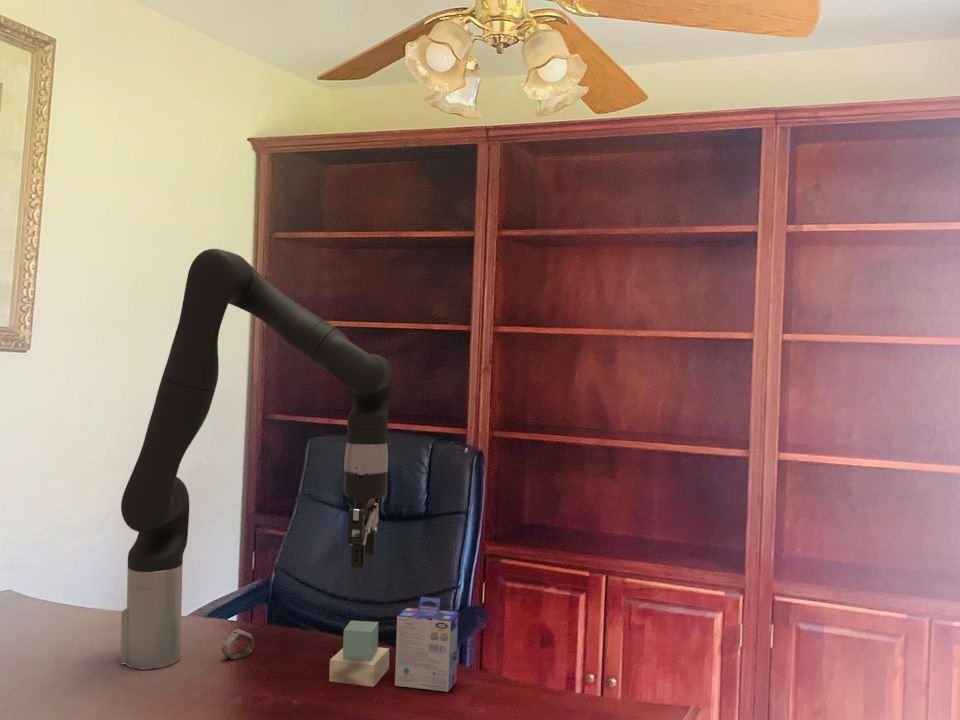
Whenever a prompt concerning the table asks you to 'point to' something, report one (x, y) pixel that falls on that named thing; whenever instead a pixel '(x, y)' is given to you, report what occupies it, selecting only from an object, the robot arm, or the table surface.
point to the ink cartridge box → (426, 647)
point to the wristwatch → (232, 638)
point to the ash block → (359, 668)
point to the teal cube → (360, 640)
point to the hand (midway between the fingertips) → (363, 560)
